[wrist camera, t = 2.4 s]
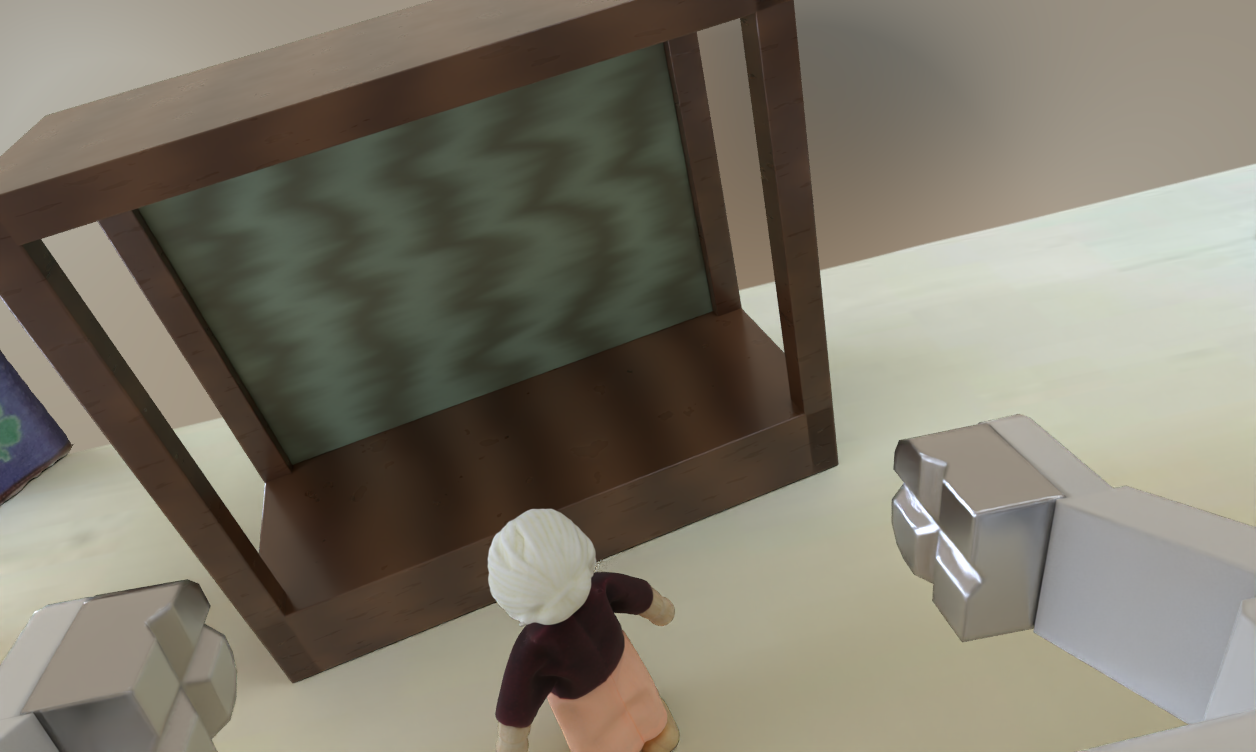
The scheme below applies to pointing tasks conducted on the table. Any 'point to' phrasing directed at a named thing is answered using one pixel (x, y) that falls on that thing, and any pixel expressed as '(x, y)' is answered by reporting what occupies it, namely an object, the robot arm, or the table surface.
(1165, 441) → the table surface
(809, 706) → the table surface
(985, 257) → the table surface
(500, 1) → the shelf
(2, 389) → the flask
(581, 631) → the grandmother figurine
